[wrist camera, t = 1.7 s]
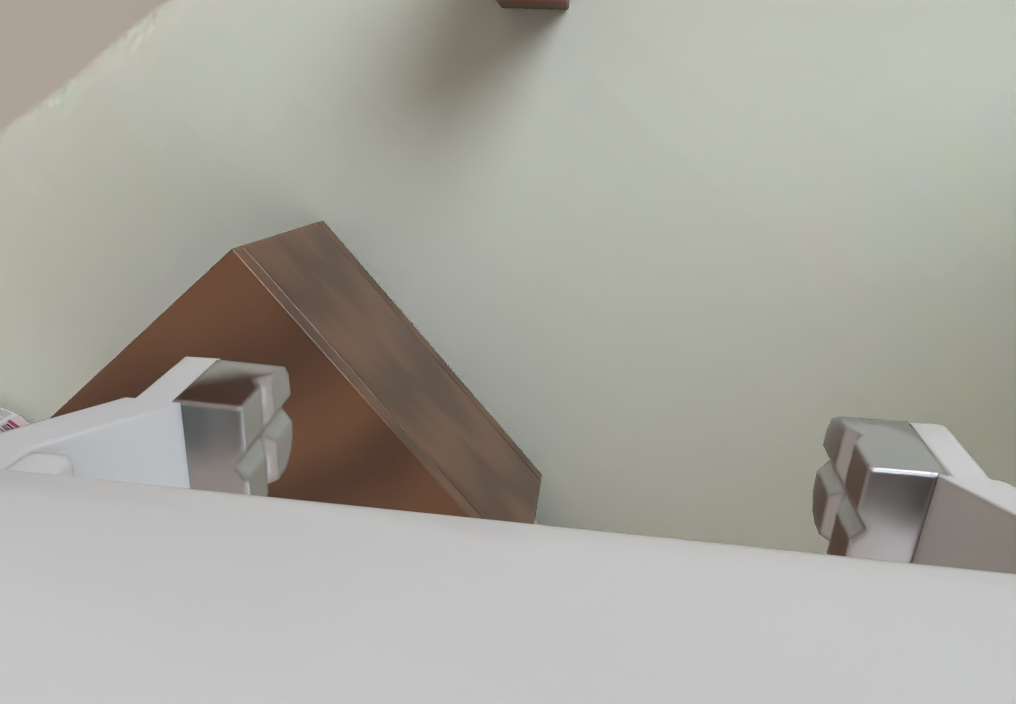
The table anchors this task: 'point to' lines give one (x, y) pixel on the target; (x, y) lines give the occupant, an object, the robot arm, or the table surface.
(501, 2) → the chocolate bar
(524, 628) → the robot arm
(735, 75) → the table surface
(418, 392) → the cabinet
